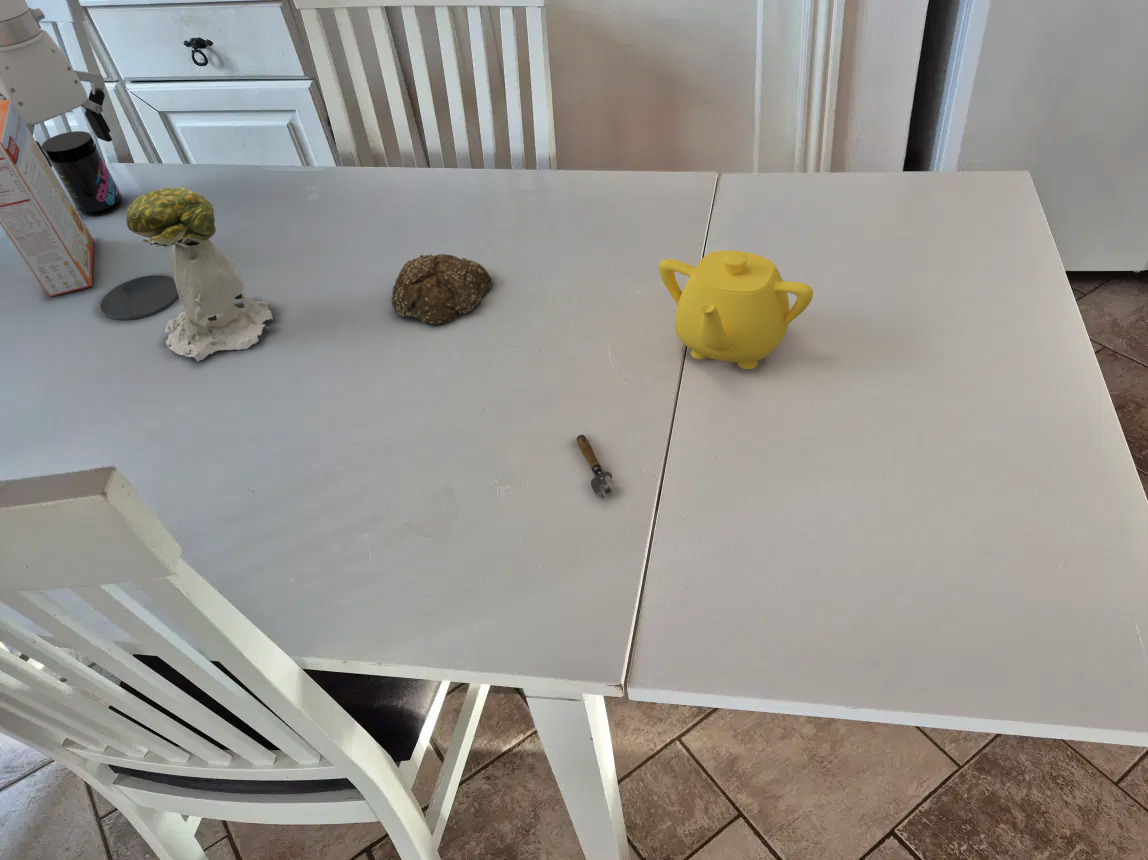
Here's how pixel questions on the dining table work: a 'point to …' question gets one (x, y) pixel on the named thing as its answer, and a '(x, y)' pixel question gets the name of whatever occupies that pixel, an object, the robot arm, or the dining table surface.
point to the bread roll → (439, 288)
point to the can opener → (594, 466)
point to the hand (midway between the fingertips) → (76, 152)
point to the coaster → (139, 297)
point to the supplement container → (83, 172)
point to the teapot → (733, 305)
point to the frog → (198, 274)
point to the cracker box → (40, 211)
